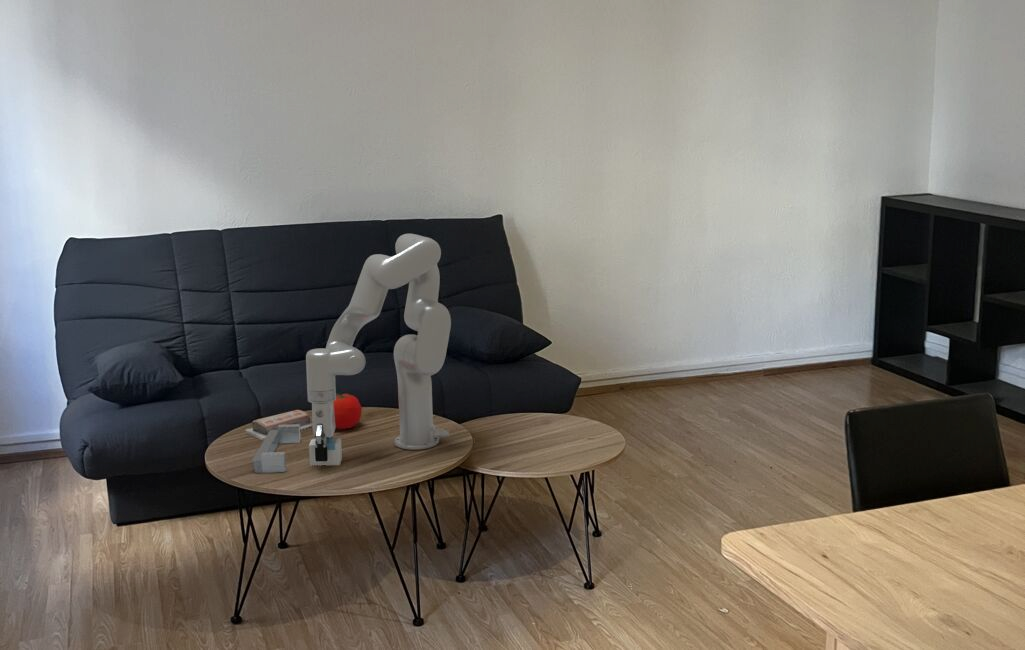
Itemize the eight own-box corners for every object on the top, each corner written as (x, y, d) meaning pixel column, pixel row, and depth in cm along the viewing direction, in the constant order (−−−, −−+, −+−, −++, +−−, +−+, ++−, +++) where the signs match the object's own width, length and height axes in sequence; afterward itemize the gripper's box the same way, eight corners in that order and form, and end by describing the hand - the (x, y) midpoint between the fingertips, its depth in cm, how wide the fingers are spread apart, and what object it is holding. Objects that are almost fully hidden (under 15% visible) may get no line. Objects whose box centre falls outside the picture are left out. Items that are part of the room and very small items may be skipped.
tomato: (367, 420, 332) (365, 388, 330) (356, 434, 320) (355, 400, 317) (331, 420, 333) (329, 388, 331) (319, 433, 321) (317, 400, 319)
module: (342, 459, 299) (340, 438, 297) (339, 465, 294) (338, 444, 292) (312, 459, 299) (311, 438, 297) (310, 466, 294) (308, 444, 292)
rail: (300, 440, 314) (299, 424, 313) (284, 472, 289) (283, 454, 288) (271, 441, 314) (269, 425, 313) (252, 473, 289) (251, 455, 288)
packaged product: (296, 406, 333) (314, 413, 326) (297, 421, 334) (315, 428, 327) (244, 419, 321) (261, 426, 314) (245, 434, 322) (262, 442, 315)
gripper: (331, 403, 283) (333, 465, 287) (339, 385, 300) (342, 444, 304) (302, 403, 283) (305, 466, 287) (312, 386, 300) (315, 445, 304)
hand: (324, 455), depth 295 cm, fingers open, 9 cm apart
